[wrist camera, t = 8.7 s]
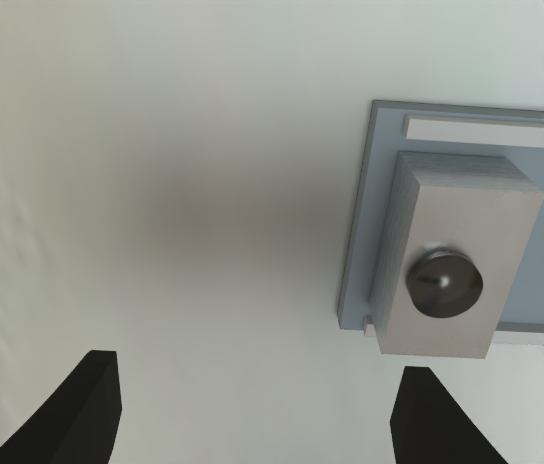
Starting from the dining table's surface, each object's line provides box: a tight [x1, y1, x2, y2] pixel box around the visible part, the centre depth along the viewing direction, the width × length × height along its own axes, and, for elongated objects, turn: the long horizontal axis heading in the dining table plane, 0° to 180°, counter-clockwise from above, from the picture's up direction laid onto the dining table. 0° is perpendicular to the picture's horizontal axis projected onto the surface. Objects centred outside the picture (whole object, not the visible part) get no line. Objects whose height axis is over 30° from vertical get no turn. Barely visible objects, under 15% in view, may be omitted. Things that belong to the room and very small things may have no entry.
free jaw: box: [368, 151, 544, 359], centre depth 19 cm, size 7×4×4 cm, turn 176°
